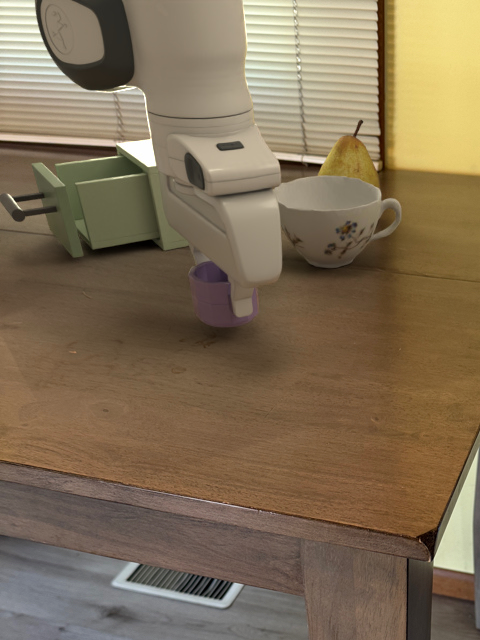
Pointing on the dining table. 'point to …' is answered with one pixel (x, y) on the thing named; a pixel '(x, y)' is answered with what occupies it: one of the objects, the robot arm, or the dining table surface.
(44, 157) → the dining table surface
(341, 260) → the teacup
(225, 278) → the bowl
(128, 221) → the drawer
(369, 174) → the fruit
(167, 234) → the cabinet
